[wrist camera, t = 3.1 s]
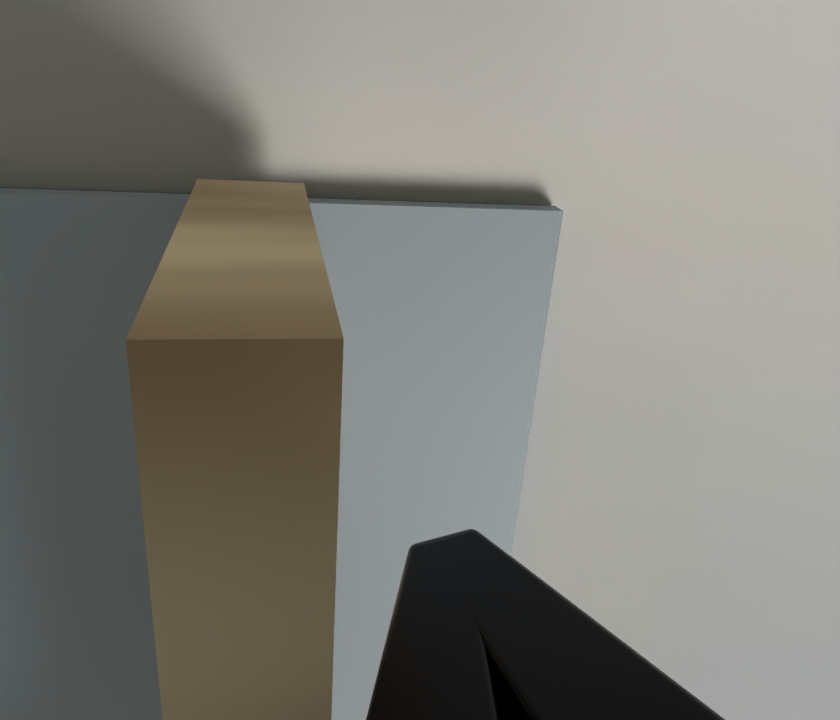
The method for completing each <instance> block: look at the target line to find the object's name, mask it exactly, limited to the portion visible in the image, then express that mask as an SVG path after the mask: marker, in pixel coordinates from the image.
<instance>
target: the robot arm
mask: <svg viewBox="0 0 840 720" xmlns="http://www.w3.org/2000/svg"><path fill="white" fill-rule="evenodd" d="M366 720H725V719H724V718H722V717H721V716H720V715H718V714H717V713H716V712H715V711H713V710H712V709H711V708H709V707H708V706H707V705H705V704H704V703H703V702H701V701H700V700H699V699H697V698H696V697H695V696H694V695H692V694H691V693H690V692H688V691H687V690H686V689H684V688H683V687H682V686H680V685H679V684H678V683H676V682H675V681H674V680H673V679H671V678H670V677H669V676H667V675H666V674H665V673H663V672H662V671H661V670H659V669H658V668H657V667H655V666H654V665H653V664H652V663H650V662H649V661H648V660H646V659H645V658H644V657H642V656H641V655H640V654H638V653H637V652H636V651H635V650H633V649H632V648H631V647H629V646H628V645H627V644H625V643H624V642H623V641H621V640H620V639H619V638H617V637H616V636H615V635H614V634H612V633H611V632H610V631H608V630H607V629H606V628H604V627H603V626H602V625H600V624H599V623H598V622H596V621H595V620H594V619H593V618H591V617H590V616H589V615H587V614H586V613H585V612H583V611H582V610H581V609H579V608H578V607H577V606H575V605H574V604H573V603H572V602H570V601H569V600H568V599H566V598H565V597H564V596H562V595H561V594H560V593H558V592H557V591H556V590H554V589H553V588H552V587H551V586H549V585H548V584H547V583H545V582H544V581H543V580H541V579H540V578H539V577H537V576H536V575H535V574H533V573H532V572H531V571H530V570H528V569H527V568H526V567H524V566H523V565H522V564H520V563H519V562H518V561H516V560H515V559H514V558H513V557H511V556H510V555H509V554H507V553H506V552H505V551H503V550H502V549H501V548H499V547H498V546H497V545H495V544H494V543H493V542H492V541H490V540H489V539H488V538H486V537H485V536H484V535H482V534H481V533H480V532H478V531H477V530H474V529H467V530H463V531H460V532H456V533H452V534H448V535H445V536H441V537H437V538H433V539H430V540H426V541H422V542H418V543H415V544H413V545H412V546H411V547H410V548H409V550H408V554H407V558H406V562H405V566H404V570H403V574H402V578H401V582H400V586H399V590H398V594H397V598H396V602H395V606H394V610H393V614H392V618H391V622H390V625H389V629H388V633H387V637H386V641H385V645H384V649H383V653H382V657H381V661H380V665H379V669H378V673H377V677H376V681H375V685H374V689H373V693H372V697H371V701H370V705H369V709H368V713H367V717H366Z"/></svg>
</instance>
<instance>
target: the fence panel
mask: <svg viewBox="0 0 840 720" xmlns="http://www.w3.org/2000/svg"><path fill="white" fill-rule="evenodd" d="M343 346H344V337H343V334H342V330H341V326H340V322H339V318H338V314H337V310H336V306H335V302H334V298H333V295H332V291H331V287H330V283H329V279H328V275H327V271H326V267H325V263H324V259H323V256H322V252H321V248H320V244H319V240H318V236H317V232H316V228H315V224H314V220H313V217H312V213H311V209H310V205H309V201H308V197H307V193H306V189H305V185H304V183H297V182H270V181H243V180H216V179H197V181H196V183H195V185H194V187H193V190H192V192H191V194H190V196H189V199H188V201H187V203H186V205H185V208H184V210H183V212H182V214H181V217H180V219H179V221H178V223H177V226H176V228H175V230H174V232H173V234H172V237H171V239H170V241H169V243H168V246H167V248H166V250H165V252H164V255H163V257H162V259H161V261H160V264H159V266H158V268H157V270H156V273H155V275H154V277H153V279H152V282H151V284H150V286H149V288H148V291H147V293H146V295H145V297H144V300H143V302H142V304H141V306H140V309H139V311H138V313H137V315H136V318H135V320H134V322H133V324H132V327H131V329H130V331H129V333H128V336H127V338H126V348H127V359H128V369H129V379H130V389H131V400H132V410H133V420H134V431H135V441H136V451H137V462H138V472H139V482H140V492H141V503H142V513H143V523H144V534H145V544H146V554H147V565H148V575H149V585H150V595H151V606H152V616H153V626H154V637H155V647H156V657H157V668H158V678H159V688H160V698H161V709H162V719H163V720H331V715H332V684H333V653H334V623H335V592H336V561H337V530H338V500H339V469H340V438H341V408H342V377H343Z"/></svg>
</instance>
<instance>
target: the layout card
mask: <svg viewBox="0 0 840 720" xmlns="http://www.w3.org/2000/svg"><path fill="white" fill-rule="evenodd" d="M189 196H190V194H172V193H142V192H111V191H81V190H51V189H20V188H0V720H163V719H162V709H161V698H160V688H159V678H158V668H157V657H156V647H155V637H154V626H153V616H152V606H151V595H150V585H149V575H148V565H147V554H146V544H145V534H144V523H143V513H142V503H141V492H140V482H139V472H138V462H137V451H136V441H135V431H134V420H133V410H132V400H131V389H130V379H129V369H128V359H127V348H126V338H127V336H128V333H129V331H130V329H131V327H132V324H133V322H134V320H135V318H136V315H137V313H138V311H139V309H140V306H141V304H142V302H143V300H144V297H145V295H146V293H147V291H148V288H149V286H150V284H151V282H152V279H153V277H154V275H155V273H156V270H157V268H158V266H159V264H160V261H161V259H162V257H163V255H164V252H165V250H166V248H167V246H168V243H169V241H170V239H171V237H172V234H173V232H174V230H175V228H176V226H177V223H178V221H179V219H180V217H181V214H182V212H183V210H184V208H185V205H186V203H187V201H188V199H189ZM308 201H309V205H310V209H311V213H312V217H313V220H314V224H315V228H316V232H317V236H318V240H319V244H320V248H321V252H322V256H323V259H324V263H325V267H326V271H327V275H328V279H329V283H330V287H331V291H332V295H333V298H334V302H335V306H336V310H337V314H338V318H339V322H340V326H341V330H342V334H343V337H344V346H343V377H342V408H341V438H340V469H339V500H338V530H337V561H336V592H335V623H334V653H333V684H332V715H331V720H366V717H367V713H368V709H369V705H370V701H371V697H372V693H373V689H374V685H375V681H376V677H377V673H378V669H379V665H380V661H381V657H382V653H383V649H384V645H385V641H386V637H387V633H388V629H389V625H390V622H391V618H392V614H393V610H394V606H395V602H396V598H397V594H398V590H399V586H400V582H401V578H402V574H403V570H404V566H405V562H406V558H407V554H408V550H409V548H410V547H411V546H412V545H413V544H415V543H418V542H422V541H426V540H430V539H433V538H437V537H441V536H445V535H448V534H452V533H456V532H460V531H463V530H467V529H474V530H477V531H478V532H480V533H481V534H482V535H484V536H485V537H486V538H488V539H489V540H490V541H492V542H493V543H494V544H495V545H497V546H498V547H499V548H501V549H502V550H503V551H505V552H506V553H507V554H509V555H510V556H511V551H512V545H513V538H514V531H515V525H516V518H517V512H518V505H519V498H520V492H521V485H522V479H523V472H524V465H525V459H526V452H527V446H528V439H529V432H530V426H531V419H532V413H533V406H534V399H535V393H536V386H537V380H538V373H539V366H540V360H541V353H542V347H543V340H544V333H545V327H546V320H547V314H548V307H549V300H550V294H551V287H552V281H553V274H554V267H555V261H556V254H557V248H558V241H559V234H560V228H561V221H562V215H563V211H562V210H560V209H559V208H557V207H556V206H536V205H506V204H475V203H445V202H415V201H384V200H354V199H324V198H308Z"/></svg>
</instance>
